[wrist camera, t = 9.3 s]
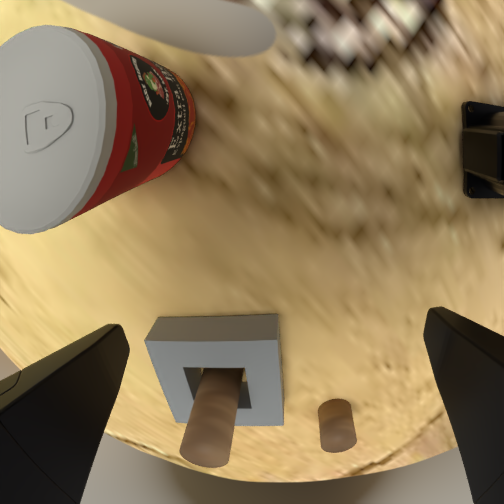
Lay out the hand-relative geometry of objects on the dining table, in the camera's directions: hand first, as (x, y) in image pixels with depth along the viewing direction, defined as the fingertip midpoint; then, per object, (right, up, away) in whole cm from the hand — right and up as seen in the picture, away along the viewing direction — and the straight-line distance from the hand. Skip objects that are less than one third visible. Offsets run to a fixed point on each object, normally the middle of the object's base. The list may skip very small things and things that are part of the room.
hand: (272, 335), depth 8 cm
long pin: (-3, -7, +16) cm, 17 cm away
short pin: (+7, -12, +17) cm, 22 cm away
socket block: (-3, -7, +16) cm, 17 cm away
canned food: (-8, +10, +10) cm, 16 cm away
